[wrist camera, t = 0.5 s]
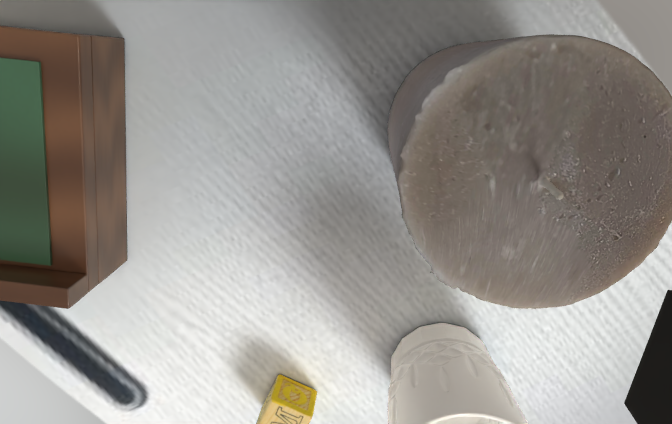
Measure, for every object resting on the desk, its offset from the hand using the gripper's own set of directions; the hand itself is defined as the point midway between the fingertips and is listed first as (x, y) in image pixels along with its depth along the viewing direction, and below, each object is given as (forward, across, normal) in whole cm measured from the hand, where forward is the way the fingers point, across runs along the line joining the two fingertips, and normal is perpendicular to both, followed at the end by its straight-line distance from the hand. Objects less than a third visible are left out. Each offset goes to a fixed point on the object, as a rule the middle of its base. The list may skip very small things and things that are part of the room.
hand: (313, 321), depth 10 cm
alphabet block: (+20, -2, -21) cm, 29 cm away
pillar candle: (+22, +8, -1) cm, 23 cm away
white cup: (+20, +8, -17) cm, 28 cm away
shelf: (+23, -20, -4) cm, 31 cm away
